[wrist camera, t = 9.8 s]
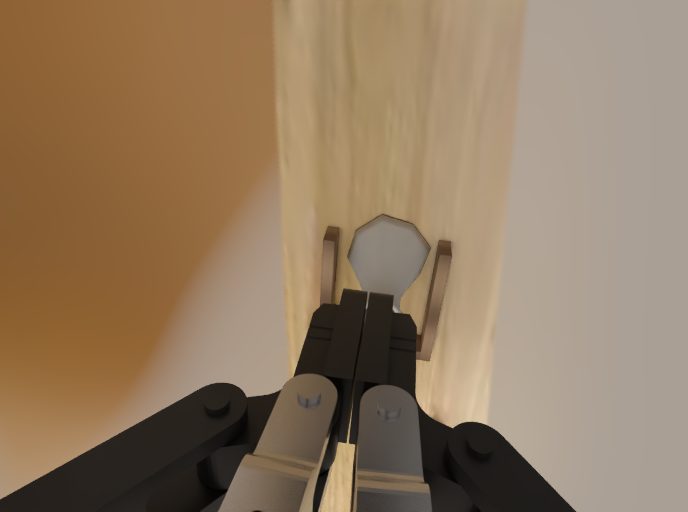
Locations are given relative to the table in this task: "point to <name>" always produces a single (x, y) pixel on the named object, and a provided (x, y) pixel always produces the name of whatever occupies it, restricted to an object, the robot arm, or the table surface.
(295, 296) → the table surface
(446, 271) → the corral
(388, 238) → the flask
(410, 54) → the table surface
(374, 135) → the table surface
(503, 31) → the table surface
